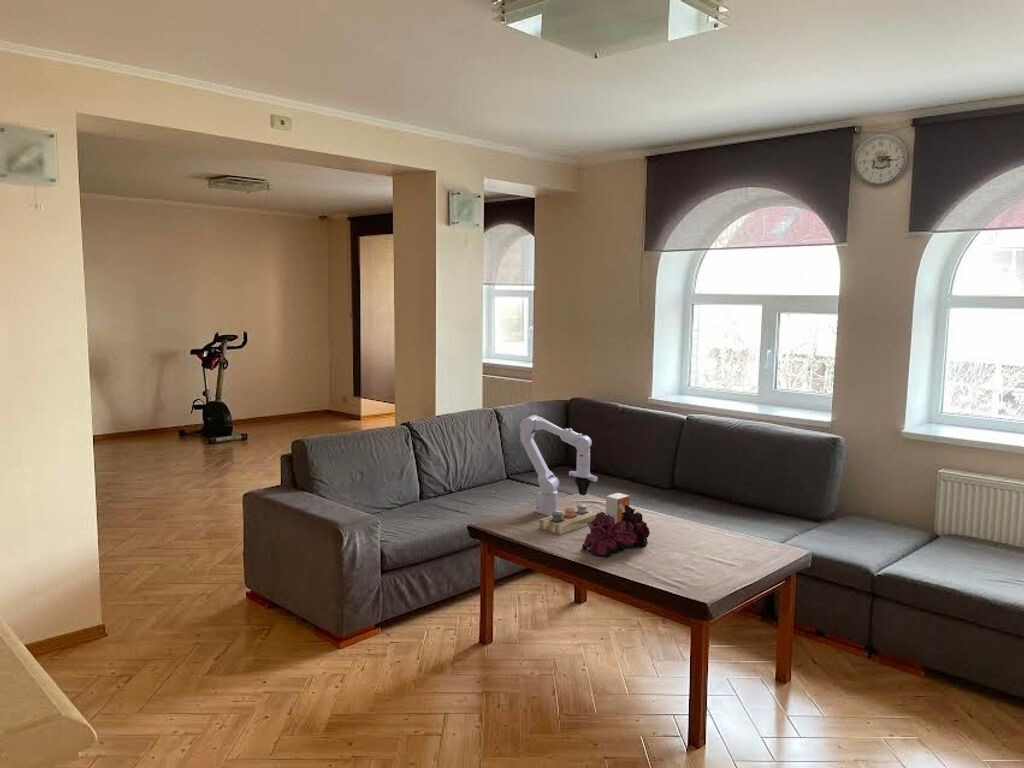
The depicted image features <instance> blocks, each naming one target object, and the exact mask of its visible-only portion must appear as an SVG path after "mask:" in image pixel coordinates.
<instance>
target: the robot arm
mask: <svg viewBox="0 0 1024 768" xmlns="http://www.w3.org/2000/svg"><path fill="white" fill-rule="evenodd" d="M519 429H520V433H519V435H520V436H519V438H520V442H521V444H522V446H523V449H525V452H526V454H527V456H528V458H529V460H530V462H531V464H532V465H533V468H534V470H535V472H536V474H537V475H538V476H537V482H538V484H539V492H537V494H536V497H535V510H534V512H535V513H538V514H542V515H545V516H547V517H549V516H552V513H553V512H561V513H562V512H563V511H562V510H558V503H559V502H558V499H559V497H558V495H559V494H558V493H559V492H558V488H559V487H560V480H559V479H558V477H557V476H555V474H554V472H553V471H551V470H550V469H549V467H548V464H546V462H545V460H544V457H543V455H542V453H541V451H540V449H539V447H538V446H537V443H536V441H535V439H534V437H535V434H536V431H541V430H544V431H546V432H550V433H551V434H553V435H555V436H559V438H560V439H561V441H562V442H565V443H567V444H569V445H571V446H573V447H575V449H576V470H569V471H568V476H570V477H575V478H574V479H573V480H574V483H575V484H576V486H577V490H578V493H579V495H580V496H584V497H585V496H586V495H587V493H588V489H589V487H590V484H591V483H592V482H598V479H599V478H598V476H596V475H594V474H591V469H590V468H591V446H592V444H593V441H592V439H591V437H590V436H588V435H587V434H585V435H584V434H583V433H579V432H576V431H574V430H573V428H571V427H570V428H561V427H560V426H557V425H556V424H554V423H552V422H550V421H549V420H547V419H545V418H544V417H541V416H539V415H537V414H532V415H529V416H528V417H525V418H523V419H522V420H521V422H520V424H519Z"/></svg>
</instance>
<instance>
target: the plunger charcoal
mask: <svg viewBox="0 0 1024 768" xmlns="http://www.w3.org/2000/svg"><path fill="white" fill-rule="evenodd" d="M552 516H553V522H555V523H560V522H561V516H562V512H553V513H552Z"/></svg>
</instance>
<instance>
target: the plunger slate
mask: <svg viewBox="0 0 1024 768" xmlns="http://www.w3.org/2000/svg"><path fill="white" fill-rule="evenodd" d="M576 508H578V514H581V515H584V514H586V510H587V508H588V505H587V504H584V503H579V504H577V505H576Z"/></svg>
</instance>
